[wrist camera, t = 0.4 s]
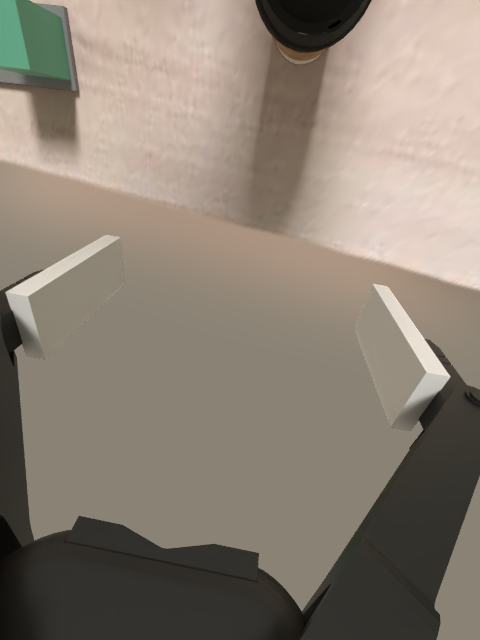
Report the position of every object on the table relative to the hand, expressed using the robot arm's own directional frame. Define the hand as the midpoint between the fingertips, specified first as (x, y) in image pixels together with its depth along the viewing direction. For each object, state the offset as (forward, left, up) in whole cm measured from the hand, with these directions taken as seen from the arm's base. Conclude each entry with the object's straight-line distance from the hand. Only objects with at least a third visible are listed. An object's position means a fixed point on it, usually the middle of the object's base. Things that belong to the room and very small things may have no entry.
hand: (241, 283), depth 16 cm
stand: (-12, -34, -27) cm, 45 cm away
